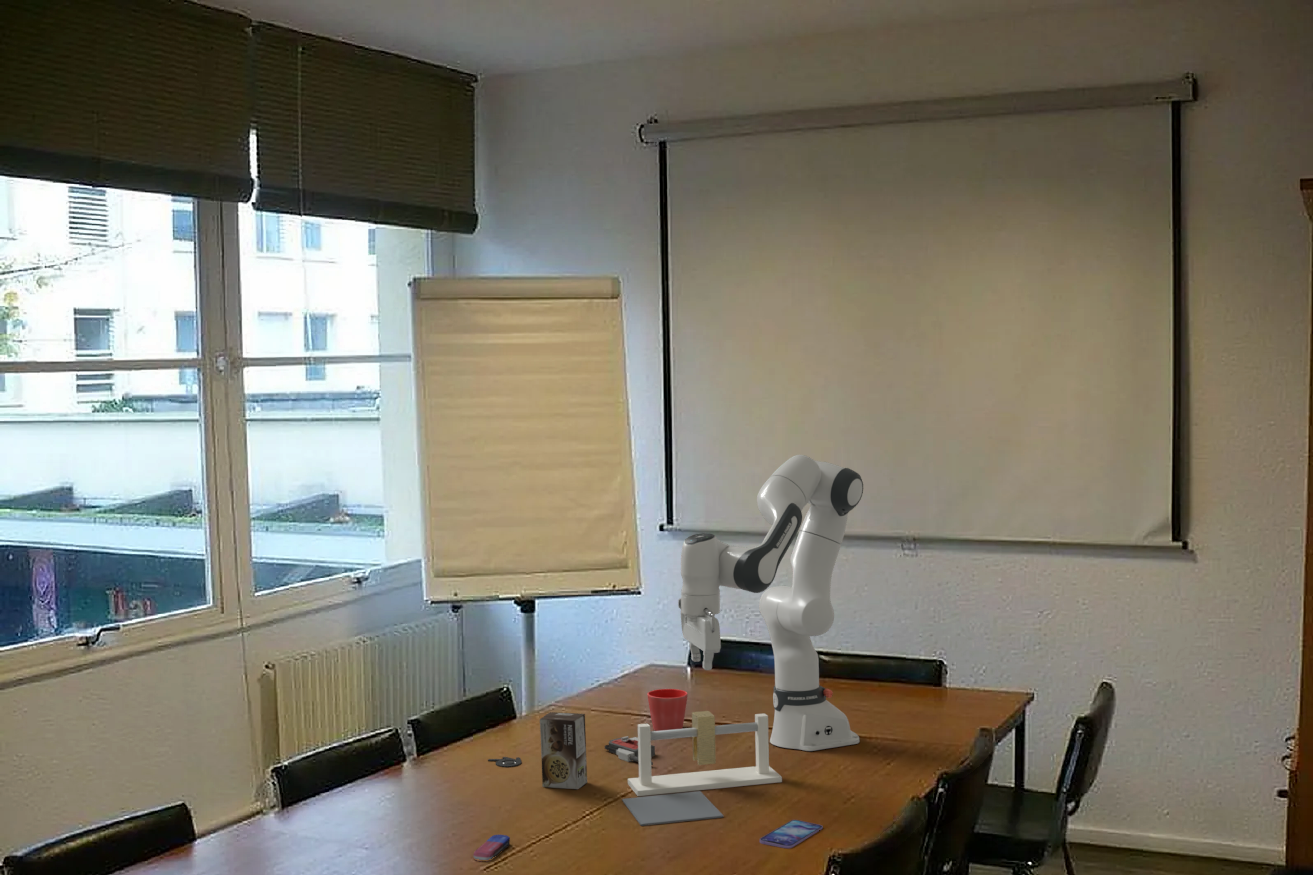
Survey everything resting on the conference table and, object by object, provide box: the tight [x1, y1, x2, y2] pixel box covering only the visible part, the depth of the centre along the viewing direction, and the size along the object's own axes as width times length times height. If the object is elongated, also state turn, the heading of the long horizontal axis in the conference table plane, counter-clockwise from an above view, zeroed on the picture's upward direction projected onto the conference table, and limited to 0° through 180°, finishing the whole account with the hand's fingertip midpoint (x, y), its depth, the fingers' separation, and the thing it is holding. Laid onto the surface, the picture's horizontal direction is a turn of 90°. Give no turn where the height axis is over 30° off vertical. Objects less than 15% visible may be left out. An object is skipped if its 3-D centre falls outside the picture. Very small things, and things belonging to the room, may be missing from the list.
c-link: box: [691, 710, 717, 766], centre depth 327 cm, size 4×5×11 cm
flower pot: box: [647, 688, 689, 731], centre depth 376 cm, size 11×11×10 cm
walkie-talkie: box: [604, 735, 656, 766], centre depth 351 cm, size 9×4×20 cm
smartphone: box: [759, 819, 823, 849], centre depth 291 cm, size 7×1×15 cm
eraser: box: [473, 834, 511, 860], centre depth 285 cm, size 11×4×2 cm, turn 162°
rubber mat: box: [621, 790, 724, 827], centre depth 309 cm, size 18×18×1 cm
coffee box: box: [539, 711, 588, 790], centre depth 328 cm, size 9×6×16 cm
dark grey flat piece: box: [487, 756, 522, 768], centre depth 349 cm, size 9×8×1 cm
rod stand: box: [627, 713, 783, 797], centre depth 327 cm, size 34×10×15 cm, turn 104°
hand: (701, 665), depth 326 cm, fingers open, 8 cm apart
